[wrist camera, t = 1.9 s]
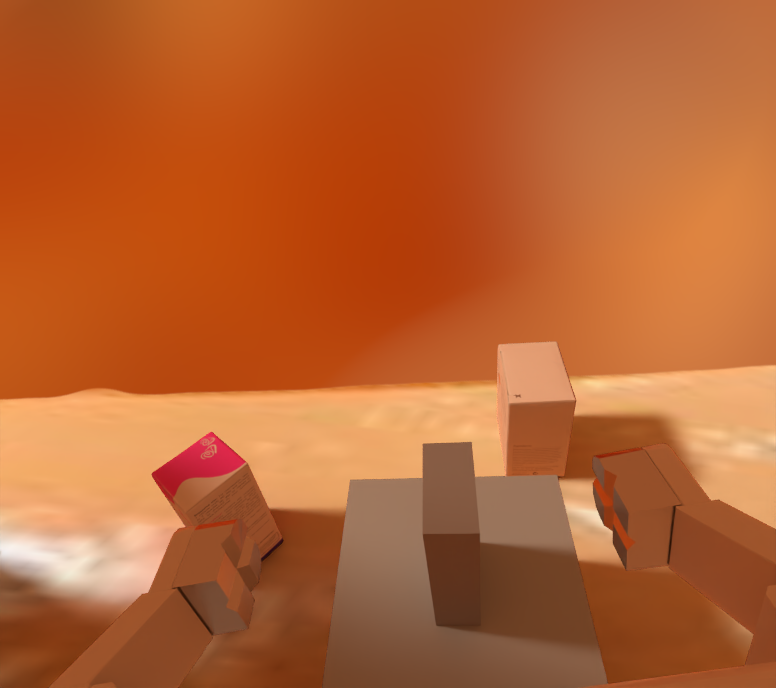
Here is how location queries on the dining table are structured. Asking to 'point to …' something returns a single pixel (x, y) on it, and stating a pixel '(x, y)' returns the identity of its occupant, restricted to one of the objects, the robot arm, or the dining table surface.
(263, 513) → the supplement box
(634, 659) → the dining table surface
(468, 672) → the grey plate with knob
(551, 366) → the small box
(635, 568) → the robot arm
